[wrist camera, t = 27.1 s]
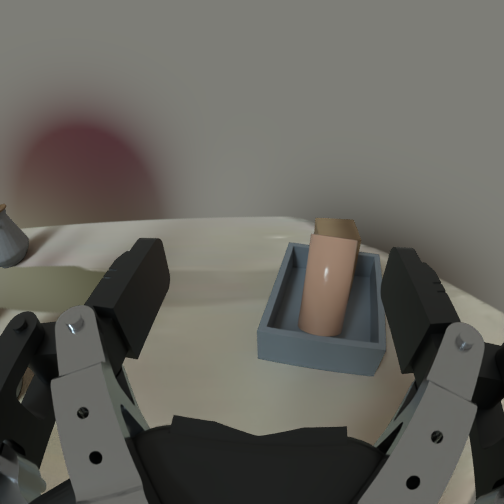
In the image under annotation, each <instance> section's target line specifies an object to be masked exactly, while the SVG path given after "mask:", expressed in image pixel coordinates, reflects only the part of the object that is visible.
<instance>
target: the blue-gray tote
mask: <svg viewBox="0 0 504 504" xmlns="http://www.w3.org/2000/svg"><path fill="white" fill-rule="evenodd" d="M308 253H309V245H305V244H298V243H290V242H289V244H288V247H287V250H286V253H285V256H284V259H283V261H282V264H281V267H280V270H279V273H278V275H277V278H276V281H275V284H274V286H273V289H272V292H271V295H270V297H269V300H268V303H267V306H266V308H265V311H264V314H263V316H262V319H261V322H260V324H259V327H258V330H257V345H258V359H263V360H268V361H273V362H279V363H284V364H289V365H295V366H301V367H307V368H313V369H320V370H326V371H333V372H341V373H348V374H357V375H366V376H374V374H375V372H376V370H377V368H378V366H379V364H380V362H381V360H382V358H383V356H384V354H385V351H386V331H385V311H384V307H383V303H382V300H381V293H380V290H381V282H382V275H381V265H380V257H379V254H372V253H365V252H359V254H358V259H357V264H356V269H355V274H354V279H353V283H352V288H351V292H350V297H349V301H348V304H347V308H346V313H345V318H344V323H343V328H342V332H341V334H339V335H336V336H317V335H313V334H309V333H307V332H304V331H302V330H301V329H300V328H299V327H298V319H299V313H300V307H301V300H302V294H303V288H304V281H305V274H306V267H307V260H308Z"/></svg>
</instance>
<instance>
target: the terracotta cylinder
mask: <svg viewBox="0 0 504 504" xmlns="http://www.w3.org/2000/svg"><path fill="white" fill-rule="evenodd" d="M357 242H358V240H353V239H348V238H342V237H335V236H328V235H320V234H311V238H310V245H309V253H308V260H307V267H306V274H305V281H304V288H303V294H302V300H301V307H300V313H299V319H298V327H299V328H300V329H301V330H302V331H304V332H307V333H309V334H313V335H317V336H336V335H339V334H341V332H342V328H343V323H344V318H345V313H346V308H347V303H348V298H349V292H350V287H351V281H352V275H353V269H354V263H355V256H356V249H357Z"/></svg>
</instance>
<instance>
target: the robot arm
mask: <svg viewBox="0 0 504 504" xmlns="http://www.w3.org/2000/svg"><path fill="white" fill-rule="evenodd" d="M169 284H170V274H169V269H168V265H167V261H166V256H165V252H164V247H163V243H162V241H161V239H159V238H139V239H138V240H137V242H136V243H135V244H134V246H133V247H132V248H131V250H130V251H126V252H125V253H124V254H122V255H121V256H120V257H118V258H117V259H116V260H115V261H114V262H113V264H112V265H111V267H110V268H109V271H107V272H106V274H105V275H104V278H102V279H101V281H100V282H99V284H98V285H97V287H96V288H95V289H94V291H93V292H92V294H91V295H90V297H89V298H88V300H87V301H86V303H85V304H84V305H78V306H74V307H71V308H70V309H68V310H66V311H65V312H63V313H62V314H61V315H60V317H59V318H58V319H57V322H49V323H40V322H39V320H38V318H37V317H36V315H35V314H34V313H33V312H29V311H27V312H22V313H20V314H18V315H16V316H15V317H14V318H13V319H12V320H11V321H10V322H9V323H8V325H7V326H6V328H5V330H4V331H3V333H2V334H1V336H0V504H437V503H438V501H439V500H440V498H441V496H442V494H443V492H444V490H445V488H446V486H447V484H448V482H449V480H450V478H451V476H452V474H453V472H454V470H455V467H456V465H457V463H458V461H459V458H460V456H461V453H462V451H463V449H464V446H465V443H466V441H467V438H468V435H469V437H470V443H471V450H472V457H473V466H474V476H475V488H476V501H475V503H474V504H504V412H503V408H502V404H501V400H502V399H503V398H504V343H503V344H502V345H501V346H499V345H495V344H490V343H485V342H484V340H483V338H482V336H481V334H480V333H479V332H478V331H477V330H476V329H475V328H474V327H472V326H471V325H469V324H466V323H462V322H461V321H460V319H459V317H458V315H457V313H456V310H455V308H454V306H453V304H452V302H451V300H450V298H449V297H448V295H447V293H445V289H444V287H443V285H442V284H441V281H440V280H439V278H438V276H437V274H436V272H435V271H434V270H433V269H432V268H430V267H429V266H428V265H427V264H426V263H422V262H421V260H420V258H419V257H418V255H417V253H416V251H415V250H414V249H413V248H402V247H393V248H392V249H391V251H390V254H389V258H388V261H387V265H386V268H385V272H384V275H383V279H382V282H381V290H380V293H381V300H382V303H383V307H384V310H385V313H386V316H387V320H388V323H389V327H390V330H391V334H392V338H393V341H394V345H395V349H396V353H397V357H398V361H399V365H400V369H401V373H402V374H407V373H414V376H415V380H414V381H413V382H412V384H411V386H410V388H409V390H408V392H407V394H406V396H405V397H404V399H403V401H402V403H401V405H400V406H399V408H398V410H397V412H396V413H395V415H394V417H393V419H392V420H391V422H390V424H389V425H388V427H387V428H386V430H385V431H384V432H383V434H382V435H381V436H380V437H379V439H378V440H377V441H376V443H375V444H374V446H372V445H371V444H369V443H366V442H364V441H362V440H359V439H355V438H352V437H347V426H346V427H315V428H300V429H295V430H291V431H286V432H280V433H275V434H269V435H263V436H256V435H252V434H249V433H246V432H243V431H240V430H237V429H234V428H231V427H228V426H225V425H223V424H220V423H217V422H215V421H207V420H200V419H194V418H188V417H182V416H176V415H174V417H173V420H172V424H171V425H165V426H159V427H155V428H151V429H150V427H149V426H148V424H147V422H146V420H145V419H144V417H143V415H142V413H141V411H140V409H139V406H138V404H137V401H136V399H135V396H134V393H133V391H132V388H131V385H130V382H129V380H128V377H127V374H126V371H125V368H124V366H123V361H124V359H125V357H128V358H133V359H138V357H139V355H140V352H141V350H142V348H143V345H144V343H145V341H146V338H147V336H148V334H149V331H150V329H151V327H152V324H153V322H154V320H155V318H156V315H157V313H158V311H159V309H160V307H161V304H162V302H163V300H164V298H165V296H166V293H167V291H168V289H169ZM27 367H29V368H30V369H31V370H32V371H33V373H34V374H35V375H34V377H33V379H32V381H31V383H30V385H29V387H28V389H27V392H26V394H25V396H24V398H23V400H22V403H20V402H19V401H18V399H17V397H18V395H19V393H20V390H21V386H22V377H23V375H24V373H25V371H26V369H27ZM55 421H56V423H57V429H58V434H59V438H60V443H61V447H62V451H63V455H64V459H65V463H66V467H67V470H68V474H69V477H70V478H69V479H68V480H66V481H64V482H63V483H61V484H59V485H58V486H56V487H54V488H53V489H51V490H49V491H48V492H46V493H44V494H42V495H41V493H43V492H44V491H45V490H46V482H45V481H44V479H42V478H41V475H40V471H39V469H40V466H41V462H42V459H43V456H44V453H45V450H46V447H47V444H48V441H49V438H50V435H51V432H52V429H53V427H54V424H55Z"/></svg>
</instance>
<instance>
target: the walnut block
mask: <svg viewBox="0 0 504 504" xmlns="http://www.w3.org/2000/svg"><path fill="white" fill-rule="evenodd" d="M314 234H320V235H328V236H335V237H342V238H348V239H353V240H358V242H357V249H356V256H355V263H354V269H353V275H352V281H351V287H350V292H351V288H352V283H353V279H354V274H355V269H356V264H357V259H358V254H359V249H360V244H361V238H360V236H359V233H358V230H357V227H356V225H355V222H354V220H348V219H329V218H316V220H315V231H314ZM350 292H349V297H350ZM348 301H349V298H348ZM347 304H348V303H347Z"/></svg>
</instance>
